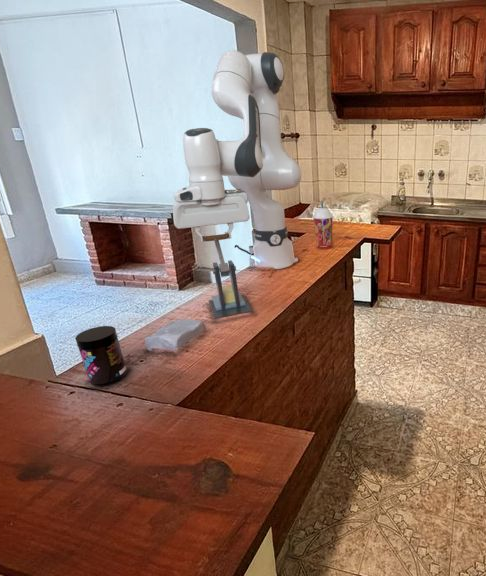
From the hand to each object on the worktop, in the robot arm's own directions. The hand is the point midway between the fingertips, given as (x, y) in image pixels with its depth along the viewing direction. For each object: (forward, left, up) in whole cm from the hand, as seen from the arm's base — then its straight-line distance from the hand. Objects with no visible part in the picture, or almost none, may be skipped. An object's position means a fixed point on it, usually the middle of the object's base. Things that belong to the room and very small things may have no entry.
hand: (216, 239), depth 115 cm
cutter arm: (+4, 0, -4) cm, 6 cm away
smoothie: (-40, +48, -19) cm, 65 cm away
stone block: (+23, -15, -19) cm, 33 cm away
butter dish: (+7, 0, -17) cm, 18 cm away
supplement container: (+34, -28, -19) cm, 48 cm away
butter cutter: (+10, 0, -18) cm, 21 cm away
